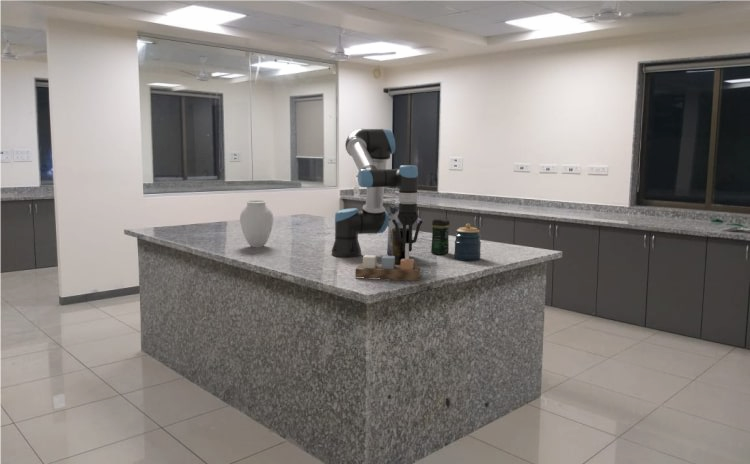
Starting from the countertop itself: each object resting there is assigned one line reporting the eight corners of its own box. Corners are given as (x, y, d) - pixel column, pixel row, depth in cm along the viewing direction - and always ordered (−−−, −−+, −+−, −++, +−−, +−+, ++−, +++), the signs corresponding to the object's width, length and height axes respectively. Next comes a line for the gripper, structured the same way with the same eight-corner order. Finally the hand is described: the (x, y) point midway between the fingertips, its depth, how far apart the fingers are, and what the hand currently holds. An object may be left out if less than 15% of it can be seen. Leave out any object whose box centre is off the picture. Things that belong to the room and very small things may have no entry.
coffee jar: (442, 255, 293) (443, 219, 290) (428, 254, 297) (429, 218, 294) (451, 252, 301) (452, 217, 298) (437, 251, 305) (438, 216, 302)
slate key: (381, 271, 241) (381, 257, 240) (383, 269, 246) (383, 255, 245) (393, 272, 240) (393, 258, 239) (394, 269, 245) (394, 256, 244)
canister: (464, 255, 294) (465, 221, 292) (485, 258, 285) (487, 223, 282) (448, 258, 285) (449, 223, 282) (470, 262, 276) (471, 225, 273)
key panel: (355, 278, 240) (355, 268, 239) (360, 272, 251) (360, 263, 250) (417, 280, 236) (417, 271, 235) (419, 275, 247) (420, 266, 246)
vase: (270, 249, 307) (269, 203, 303) (237, 249, 307) (235, 202, 303) (276, 244, 324) (275, 200, 321) (245, 243, 324) (243, 199, 321)
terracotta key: (400, 275, 240) (400, 260, 239) (401, 272, 245) (401, 258, 244) (412, 275, 239) (412, 261, 238) (413, 273, 244) (413, 259, 243)
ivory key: (362, 271, 242) (362, 257, 241) (364, 268, 247) (364, 255, 246) (374, 271, 241) (374, 257, 240) (376, 269, 246) (376, 255, 245)
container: (389, 266, 265) (389, 227, 263) (408, 265, 266) (409, 227, 264) (391, 270, 256) (392, 230, 254) (411, 270, 257) (412, 230, 255)
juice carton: (411, 255, 293) (414, 202, 288) (397, 258, 286) (400, 204, 281) (397, 252, 299) (400, 200, 294) (384, 254, 292) (386, 202, 287)
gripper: (391, 203, 235) (390, 260, 238) (423, 204, 233) (421, 261, 236) (393, 201, 242) (392, 256, 246) (424, 202, 240) (423, 257, 244)
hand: (407, 258), depth 241 cm, fingers closed
